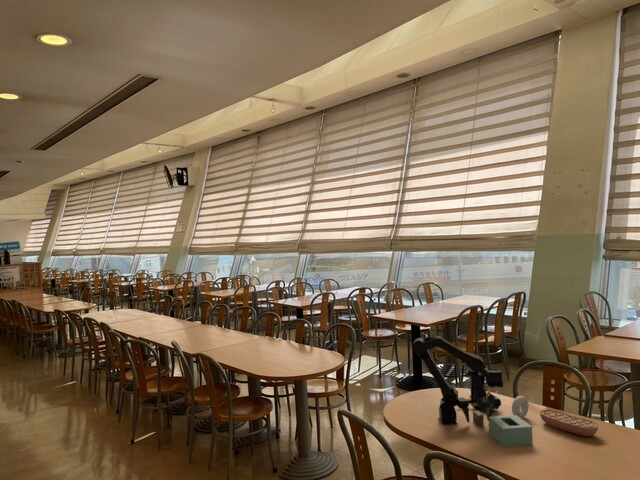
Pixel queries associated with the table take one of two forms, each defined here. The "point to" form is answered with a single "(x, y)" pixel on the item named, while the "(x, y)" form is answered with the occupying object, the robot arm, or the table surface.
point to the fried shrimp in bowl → (477, 404)
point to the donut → (519, 410)
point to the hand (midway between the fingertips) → (478, 421)
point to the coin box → (510, 430)
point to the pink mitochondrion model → (569, 423)
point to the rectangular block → (478, 418)
